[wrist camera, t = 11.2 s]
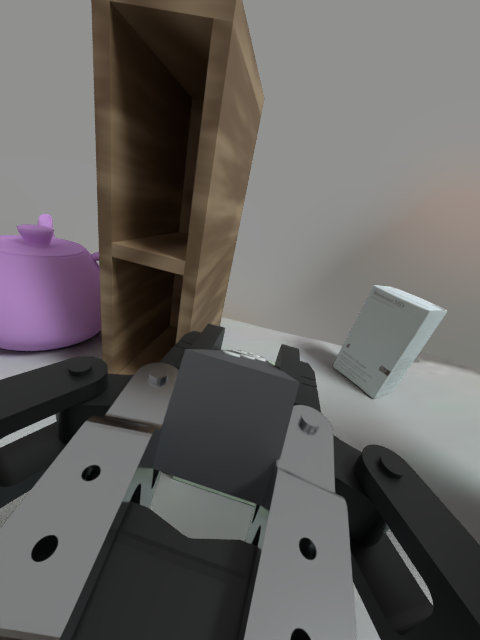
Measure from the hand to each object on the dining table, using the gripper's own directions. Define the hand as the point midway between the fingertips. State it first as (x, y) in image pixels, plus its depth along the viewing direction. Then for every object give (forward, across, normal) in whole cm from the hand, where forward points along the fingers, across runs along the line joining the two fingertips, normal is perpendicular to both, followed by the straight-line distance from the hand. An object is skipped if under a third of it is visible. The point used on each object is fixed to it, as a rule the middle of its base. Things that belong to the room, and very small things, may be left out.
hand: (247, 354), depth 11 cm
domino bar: (+4, 0, +6) cm, 7 cm away
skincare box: (+27, -19, +15) cm, 37 cm away
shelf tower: (+18, +10, +15) cm, 26 cm away
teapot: (+19, +30, +16) cm, 39 cm away
